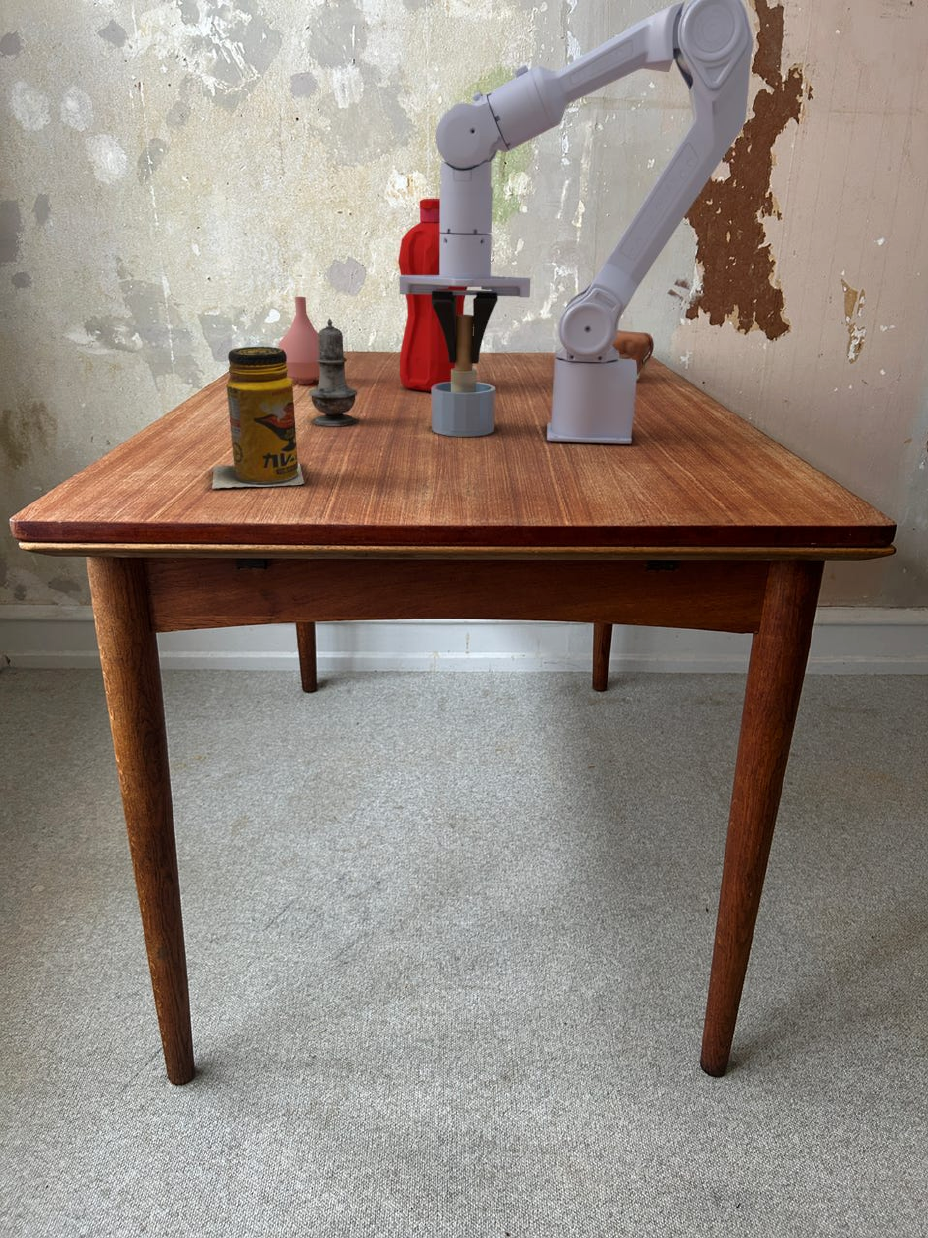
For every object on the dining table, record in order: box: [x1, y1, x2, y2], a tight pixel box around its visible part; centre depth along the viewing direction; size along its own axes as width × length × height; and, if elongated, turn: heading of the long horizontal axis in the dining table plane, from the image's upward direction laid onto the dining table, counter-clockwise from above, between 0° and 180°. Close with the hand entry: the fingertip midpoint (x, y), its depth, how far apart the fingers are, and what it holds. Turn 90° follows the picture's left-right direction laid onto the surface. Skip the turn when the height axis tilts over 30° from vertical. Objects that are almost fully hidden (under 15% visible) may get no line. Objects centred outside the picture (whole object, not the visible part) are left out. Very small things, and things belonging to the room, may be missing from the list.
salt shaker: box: [308, 318, 359, 427], centre depth 106 cm, size 6×6×12 cm
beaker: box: [431, 381, 497, 438], centre depth 105 cm, size 7×7×5 cm
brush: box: [451, 314, 478, 393], centre depth 102 cm, size 3×3×8 cm
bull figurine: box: [612, 329, 655, 382], centre depth 139 cm, size 4×13×8 cm, turn 42°
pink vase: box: [277, 296, 320, 385], centre depth 130 cm, size 8×8×12 cm
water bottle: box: [397, 198, 468, 393], centre depth 126 cm, size 9×11×25 cm
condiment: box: [211, 346, 305, 489], centre depth 84 cm, size 7×8×12 cm
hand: (463, 361), depth 103 cm, fingers closed on brush, 2 cm apart
